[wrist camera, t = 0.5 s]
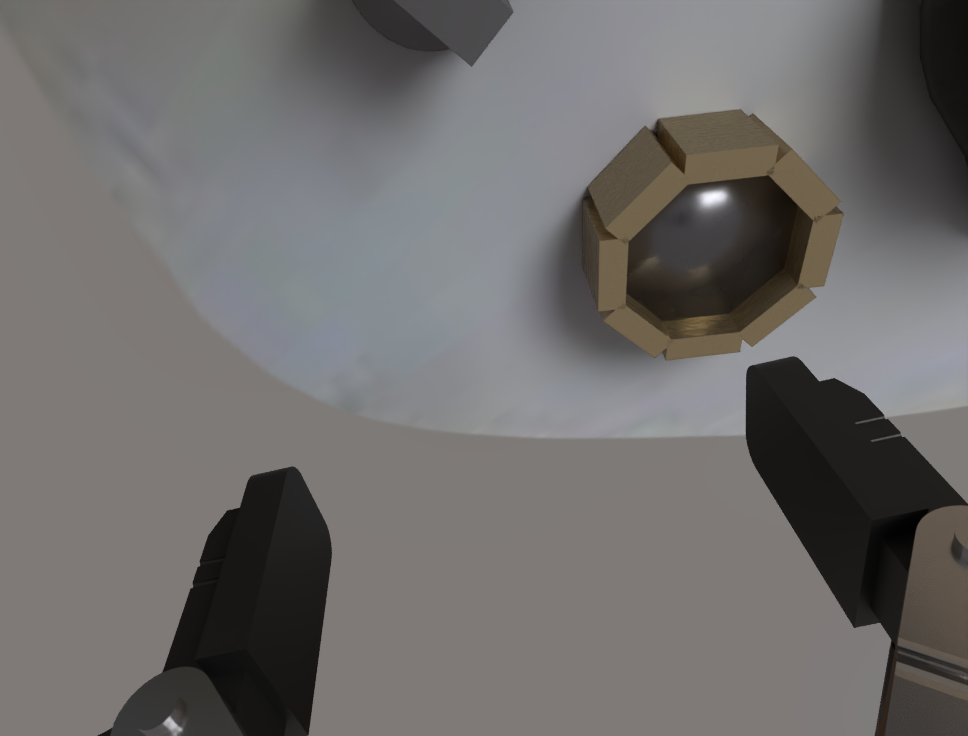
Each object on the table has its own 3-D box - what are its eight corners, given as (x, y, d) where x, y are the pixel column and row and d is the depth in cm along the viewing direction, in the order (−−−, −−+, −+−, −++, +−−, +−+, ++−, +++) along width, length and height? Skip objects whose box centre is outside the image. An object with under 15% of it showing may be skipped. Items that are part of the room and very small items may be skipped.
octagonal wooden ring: (705, 62, 27) (740, 93, 24) (837, 204, 32) (882, 245, 29) (538, 238, 32) (550, 283, 29) (674, 340, 36) (697, 389, 33)
